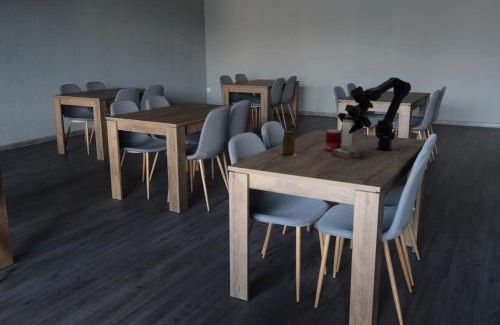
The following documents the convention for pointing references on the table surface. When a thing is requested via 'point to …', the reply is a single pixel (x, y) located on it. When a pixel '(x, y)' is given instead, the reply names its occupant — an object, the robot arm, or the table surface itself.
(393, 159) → the table surface
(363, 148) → the table surface
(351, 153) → the plinth
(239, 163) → the table surface
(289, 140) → the condiment
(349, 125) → the tumbler
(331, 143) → the canned food
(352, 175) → the table surface
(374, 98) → the robot arm
